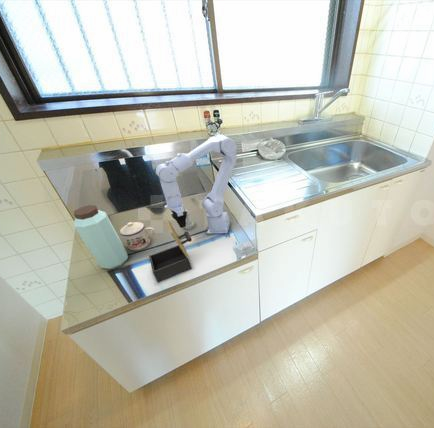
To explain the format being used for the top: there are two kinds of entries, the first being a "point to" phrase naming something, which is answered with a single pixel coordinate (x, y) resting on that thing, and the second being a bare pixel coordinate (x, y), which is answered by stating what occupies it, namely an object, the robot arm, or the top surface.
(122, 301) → the top surface
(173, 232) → the tan elongated piece
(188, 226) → the chess piece
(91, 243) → the water bottle
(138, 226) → the teacup with lid
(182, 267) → the black open-top bin
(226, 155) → the robot arm
